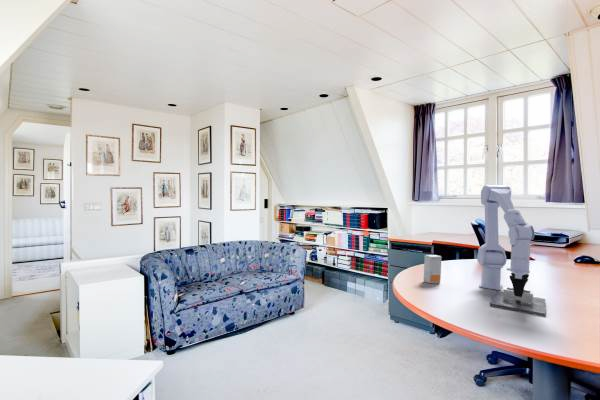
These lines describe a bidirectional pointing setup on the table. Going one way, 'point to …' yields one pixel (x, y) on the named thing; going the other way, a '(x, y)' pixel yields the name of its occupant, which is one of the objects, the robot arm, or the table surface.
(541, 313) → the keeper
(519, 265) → the robot arm
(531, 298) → the link
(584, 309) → the table surface
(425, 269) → the skincare box
